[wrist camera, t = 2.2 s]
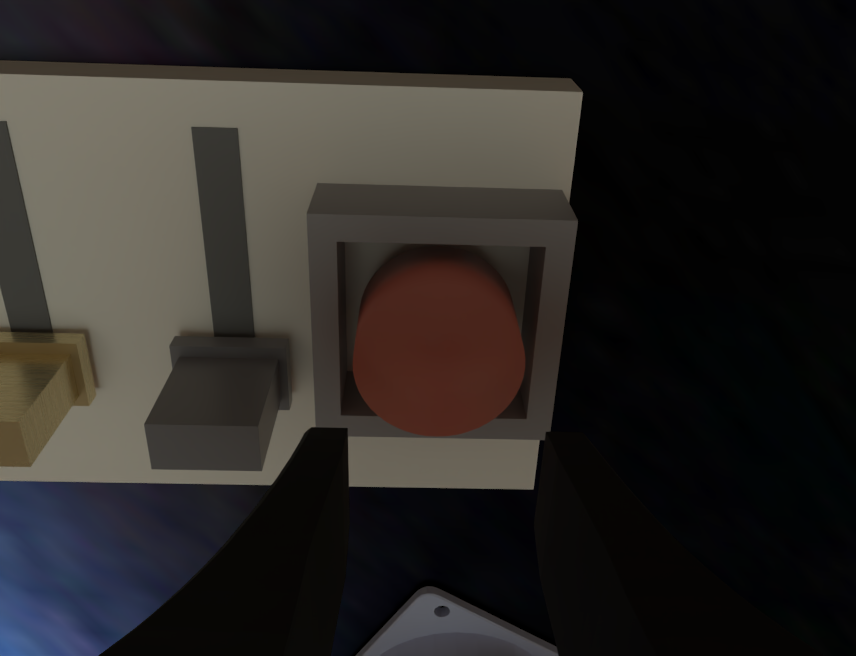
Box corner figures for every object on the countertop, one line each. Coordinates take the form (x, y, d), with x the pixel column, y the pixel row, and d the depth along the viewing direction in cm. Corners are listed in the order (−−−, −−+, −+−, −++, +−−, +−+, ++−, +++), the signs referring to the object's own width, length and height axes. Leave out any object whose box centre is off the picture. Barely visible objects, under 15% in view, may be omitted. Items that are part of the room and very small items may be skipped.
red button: (520, 247, 17) (533, 290, 16) (506, 384, 19) (517, 437, 17) (358, 243, 17) (351, 286, 15) (359, 381, 19) (353, 435, 17)
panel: (570, 78, 18) (602, 113, 15) (526, 456, 24) (543, 539, 20) (-130, 56, 18) (-244, 87, 15) (-15, 446, 23) (-82, 530, 20)
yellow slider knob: (84, 333, 19) (25, 410, 16) (96, 395, 20) (43, 477, 17) (-32, 331, 19) (-112, 407, 16) (-15, 392, 20) (-87, 475, 17)
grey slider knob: (288, 338, 19) (266, 414, 16) (292, 399, 20) (271, 482, 17) (174, 335, 19) (132, 412, 16) (182, 397, 20) (144, 480, 17)
